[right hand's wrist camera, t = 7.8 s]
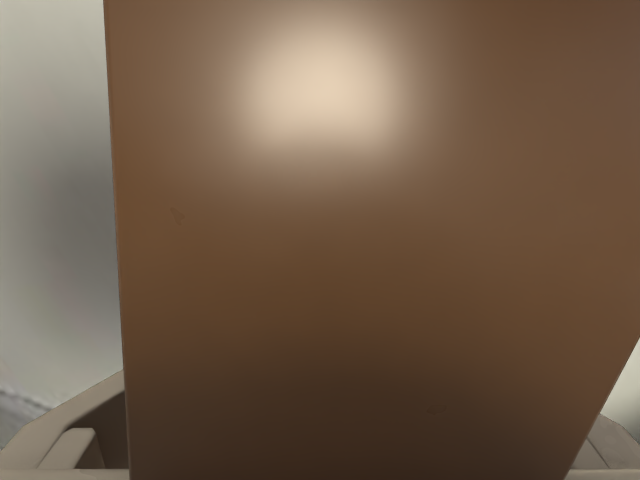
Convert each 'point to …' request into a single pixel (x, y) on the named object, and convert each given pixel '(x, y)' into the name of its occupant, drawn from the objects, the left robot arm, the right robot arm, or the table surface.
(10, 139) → the table surface
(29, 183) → the table surface
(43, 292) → the table surface
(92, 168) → the table surface
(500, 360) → the bar
